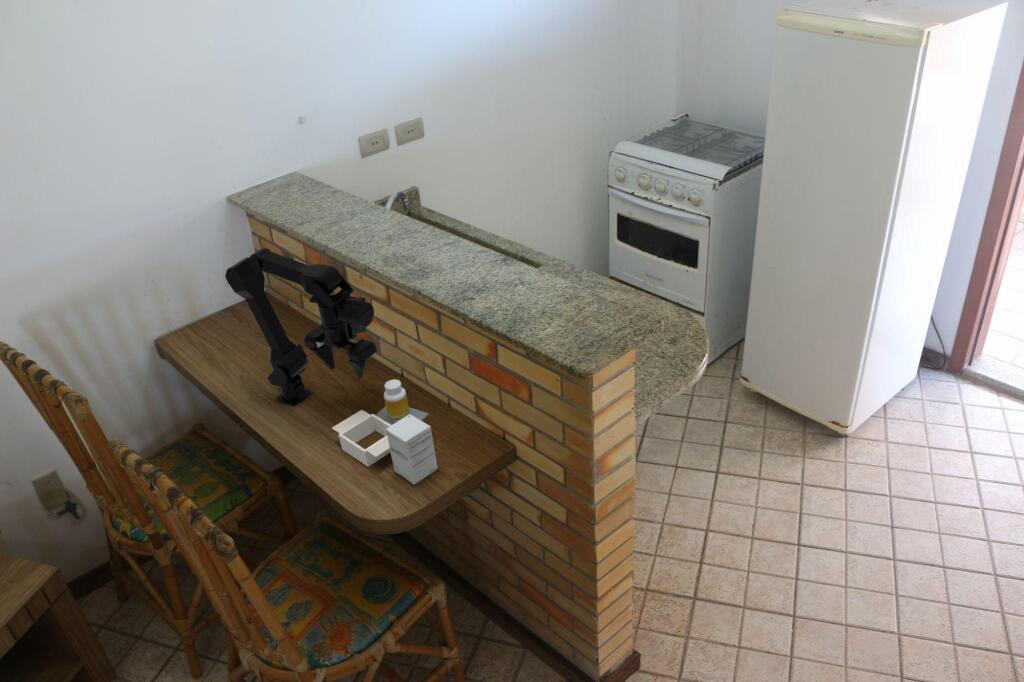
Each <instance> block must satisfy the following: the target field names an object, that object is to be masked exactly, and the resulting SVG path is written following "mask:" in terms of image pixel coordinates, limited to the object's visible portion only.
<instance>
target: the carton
mask: <svg viewBox="0 0 1024 682" xmlns="http://www.w3.org/2000/svg"><path fill="white" fill-rule="evenodd" d="M375 415H376V414H374V413H372V414H371V413H370V414H369V413H368V412H367V411H365V410H363V409H361V410H359V411H357V412H356V413H354V414H352V415H351V416H349V417H347V418H345V419H344V420H342V421H341V422H339V423H337V424H336V425H334V426H332V427H331V429H332V430H333V431H335V432H336V433H338V439H339V443H340V446H341V450H342V451H343V452H345V453H347V454H348V455H349V456H351V457H353V458H354V459H355V458H356V459H355V460H357V461H358V460H359V462H360V463H361V462H362V465H364V466H366V467H368V468H369V467H370V466H372V465H373V464H375V463H376V462H378V461H380V460H381V459H382V458H384V457H385V456H387V455H388V454H391V452H390V447H389V442H388V437H387V433H386V429H387V428H388V427H390V426H391V425H390V424H389V423H387V422H385V421H384V420H382V419H380V418H379V417H377V416H375ZM374 432H377V433H379V434H380V435H381V436H384V437H381V438H380V439H379V440H377V441H376V442H375V443H373V444H371V445H369V447H367V448H363V447H362V446H360V445H359V444H357V443H358V442H359V441H361V440H363V439H365V437H367V436H369V435H371V434H373V433H374Z"/></svg>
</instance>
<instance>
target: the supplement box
mask: <svg viewBox="0 0 1024 682" xmlns="http://www.w3.org/2000/svg"><path fill="white" fill-rule="evenodd" d="M386 433H387V437H388V442H389V447H390V455H391V460H392V465H393V470H394V472H395V473H397V474H398V475H400V476H401V477H403V478H404V479H406V480H407V481H408V482H409V483H410V484H412V485H416V484H418V483H419V482H421V481H422V480H424V479H425V478H426V477H428V476H429V475H431V474H433V473H434V472H435V471H437V470H438V461H437V457H436V456H437V455H436V451H435V445H434V439H433V433H432V426H431V425H429V424H427V423H426V422H425V421H421V420H419V419H417V418H416V417H414V416H412V415H411V414H409V415H407V416H406V417H404V418H402V419H401V420H399V421H398V422H396V423H395V424H393V425H391V426H390V427H388V428H387V429H386Z"/></svg>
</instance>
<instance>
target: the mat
mask: <svg viewBox="0 0 1024 682" xmlns="http://www.w3.org/2000/svg"><path fill="white" fill-rule="evenodd" d="M408 407H409V406H408ZM409 412H410V414H411V415H412V416H414V417H416V418H417V419H419V420H421V421H423V422H425V420H426V419H427V418H428V417H429V415H430V413H428V412H424V411H422V410H419V409H416V408H413V407H409ZM374 415H375V416H377V417H379V418H380V419H382V420H384V421H385V422H387V423H389V424H390V425H393V424H395V423H396V422H393V421H391V420H390V419H389V418H388V414H387V409H386V405H385V406H384V407H383V408H382V409H380V410H379V411H378V412H377V413H376V414H374Z"/></svg>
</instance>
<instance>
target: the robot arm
mask: <svg viewBox="0 0 1024 682" xmlns="http://www.w3.org/2000/svg"><path fill="white" fill-rule="evenodd" d="M264 272H265V273H267V274H270V275H273V276H275V277H279V278H281V279H283V280H286V281H289V282H292V283H294V284H297V285H299V286H301V287H302V289H303V290H304V292H305V293H306V294H308V295H310V296H311V297H310V298H309V299H308V301H309V302H310V303H312V304H313V303H314V304H317V307H318V308H317V309H318V311H319V316H320V320H321V324H320V325H319V326H316V327H315V328H314V329H312V330H310V331H309V332H308V333H307V334H305V336H304V339H303V342H304V344H305V347H307V348H309V350H310V351H312V352H313V354H315V355H316V356H317V357H318V358H319V359H321V360H322V362H323V363H324V364H325V365H326V366H327V367H328V368H329V369H330V370H334V369H336V366H335V364H336V363H335V358H334V353H333V352H334V351H333V348H335V349H343V350H347V356H348V358H349V360H348V362H349V364H350V366H351V367H352V369H353V371H354V374H355V375H356V376H357V377H358V379H362V378H363V377H364V373H365V368H366V362H367V360H368V359H369V358H370V357H371V356H373V355H375V354H376V353H377V352H378V350H377V346H376V345H377V344H376V342H373V341H370V340H368V339H363V338H361V339H360V340H358V341H357V342H355V341H352V340H354V339H356V338H357V334H361V333H363V334H364V333H366V332H367V327H368V326H370V325H371V324H372V321H373V319H374V316H375V310H374V309H375V308H374V306H373V304H372V303H370V302H368V301H366V298H365V297H362V296H359V297H358V296H352V294H353V293H354V292H355V289H354V288H353V287H352V286H351V283H349V282H348V281H347V279H345V277H344V276H343V275H342V274H341V272H339V269H337V268H336V267H334V266H331V265H326V264H321V263H319V264H306V263H303V262H301V261H299V260H298V261H297V260H295V259H293V258H290V257H287V256H284V255H282V254H278V253H276V252H273V251H272V250H270V249H269V248H267V247H264V248H263V247H262V248H260V249H258V250H256V251H255V252H253V253H251V255H249V256H246V257H244V258H243V259H241V260H239V261H237V262H236V263H235V264H233V265H232V266H230V267H228V268H227V269H226V271H225V275H224V277H225V279H226V282H227V283H228V285H229V287H230V288H231V289H232V291H233V292H234V293H235V294H237V295H238V296H239V297H241V298H243V299H244V300H245V302H246V303H247V305H248V307H249V308H250V310H251V313H252V315H253V317H254V319H255V321H256V322H257V325H258V326H259V329H260V330H261V333H262V334H263V336H264V338H265V340H266V341H267V344H268V346H269V347H270V364H271V366H272V369H273V371H272V372H271V373H270V374H269V375H268V376H267V380H268V381H269V383H270V385H272V386H277V387H278V390H279V394H280V395H279V396H277V397H276V400H277V401H279V402H282V403H284V404H287V405H290V406H296V405H297V404H299V403H300V402H301V401H303V399H305V398H307V396H309V395H310V394H311V391H310V390H308V389H306V387H305V384H304V381H303V378H302V376H301V374H302V373H303V372H305V371H306V367H307V364H308V355H307V354H306V352H305V351H304V349H303V345H301V344H300V343H299V344H296V343H294V342H293V341H291V340H290V339H289V336H288V335H287V332H286V331H285V328H284V327H283V324H282V323H281V320H280V319H279V317H278V314H277V313H276V311H275V309H274V307H273V305H272V303H271V301H270V299H269V297H268V295H267V293H266V291H265V283H266V276H265V274H264ZM339 288H340V290H339V291H338V292H336V293H335V294H334V292H335V291H337V290H338V289H339Z"/></svg>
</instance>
